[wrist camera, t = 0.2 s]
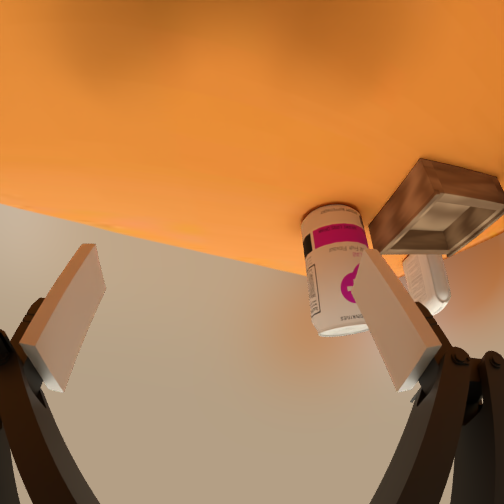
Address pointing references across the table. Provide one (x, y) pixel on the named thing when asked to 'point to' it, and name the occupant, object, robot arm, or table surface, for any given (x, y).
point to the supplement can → (334, 268)
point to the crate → (437, 210)
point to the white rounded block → (427, 281)
